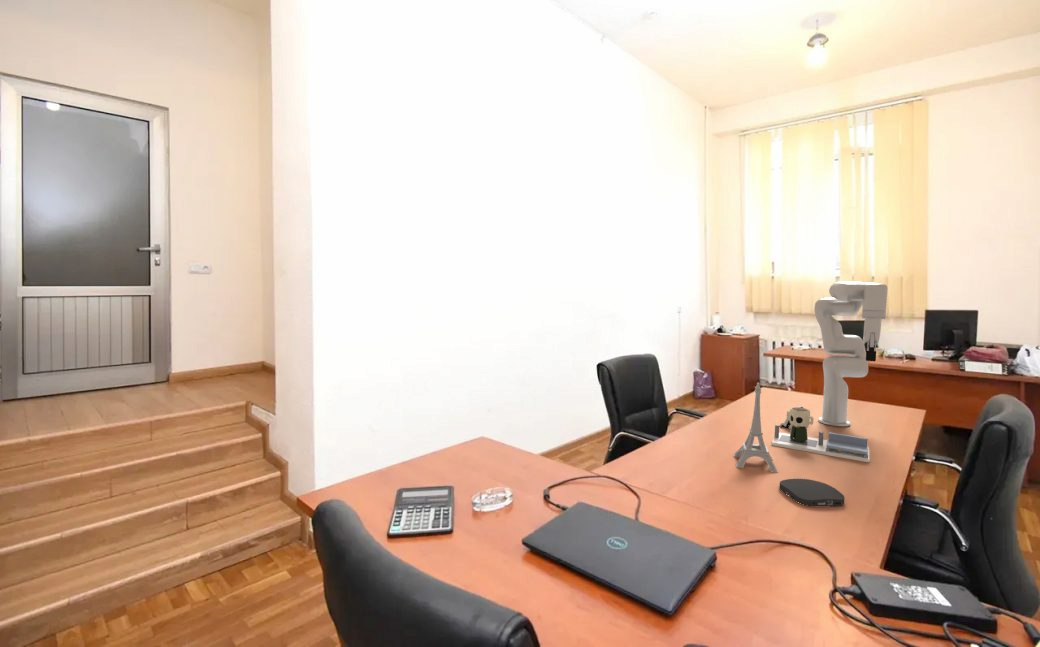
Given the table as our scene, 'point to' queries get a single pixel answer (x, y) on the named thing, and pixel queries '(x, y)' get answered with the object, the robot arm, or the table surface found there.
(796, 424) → the character mug
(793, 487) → the media streaming box
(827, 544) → the table surface
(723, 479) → the table surface
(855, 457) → the board
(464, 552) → the table surface
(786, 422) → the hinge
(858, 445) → the cover
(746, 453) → the eiffel tower
